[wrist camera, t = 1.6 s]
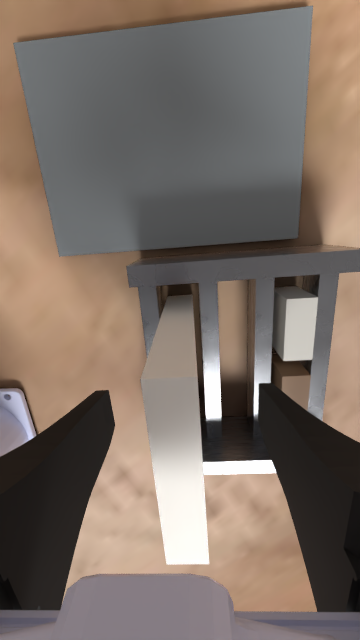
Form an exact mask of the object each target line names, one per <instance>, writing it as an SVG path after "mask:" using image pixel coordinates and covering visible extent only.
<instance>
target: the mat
mask: <svg viewBox="0 0 360 640" xmlns="http://www.w3.org/2000/svg"><path fill="white" fill-rule="evenodd" d="M312 12H313V6H307V7H299V8H291V9H283V10H275V11H266V12H258V13H250V14H242V15H234V16H226V17H218V18H210V19H202V20H194V21H186V22H178V23H170V24H162V25H154V26H146V27H137V28H129V29H121V30H113V31H105V32H97V33H89V34H81V35H73V36H65V37H57V38H49V39H41V40H33V41H25V42H17V43H13V44H14V49H15V54H16V58H17V63H18V67H19V72H20V77H21V81H22V86H23V91H24V95H25V100H26V104H27V109H28V114H29V118H30V123H31V127H32V132H33V137H34V141H35V146H36V151H37V155H38V160H39V164H40V169H41V174H42V178H43V183H44V187H45V192H46V197H47V201H48V206H49V211H50V215H51V220H52V224H53V229H54V234H55V238H56V243H57V247H58V252H59V257H60V256H73V255H86V254H99V253H112V252H125V251H138V250H151V249H164V248H177V247H190V246H203V245H216V244H229V243H242V242H255V241H268V240H281V239H294V238H298V230H299V215H300V199H301V184H302V168H303V152H304V137H305V121H306V105H307V90H308V74H309V59H310V43H311V27H312Z"/></svg>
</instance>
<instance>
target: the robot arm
mask: <svg viewBox="0 0 360 640" xmlns="http://www.w3.org/2000/svg"><path fill="white" fill-rule="evenodd" d="M8 395H10V396H11V397H10V396H8ZM258 422H259V426H260V429H261V433H262V437H263V440H264V443H265V445H266V448H267V450H268V453H269V455H270V458H271V460H272V463H273V465H274V468H275V470H276V473H277V475H278V478H279V480H280V483H281V485H282V488H283V491H284V493H285V496H286V499H287V502H288V506H289V509H290V512H291V516H292V519H293V522H294V526H295V529H296V533H297V537H298V540H299V544H300V547H301V551H302V554H303V558H304V562H305V565H306V569H307V573H308V577H309V580H310V584H311V588H312V592H313V596H314V600H315V604H316V608H317V612H241V611H234V607H233V601H232V599H231V597H230V595H229V593H228V591H227V589H226V588H225V587H224V586H223V585H221V584H220V583H218V582H216V581H215V580H213V579H211V578H210V577H207V576H201V575H195V574H97V575H91V576H86V577H82V578H81V579H79V580H78V581H77V582H76V583H74V584H73V585H72V586H71V587H70V588H68V589H67V592H66V595H65V597H64V600H63V596H64V592H65V587H66V583H67V579H68V575H69V571H70V567H71V563H72V559H73V554H74V551H75V547H76V543H77V539H78V536H79V532H80V528H81V525H82V521H83V518H84V514H85V511H86V508H87V504H88V501H89V498H90V495H91V492H92V490H93V487H94V485H95V482H96V480H97V477H98V475H99V472H100V469H101V467H102V464H103V462H104V459H105V457H106V454H107V452H108V449H109V446H110V443H111V440H112V436H113V432H114V427H115V422H114V416H113V411H112V406H111V400H110V395H109V390H101V391H95V392H94V393H92V394H91V395H90V396H89V397H87V398H86V399H85V400H84V401H82V402H81V403H80V404H79V405H77V406H76V407H75V408H74V409H72V410H71V411H70V412H69V413H67V414H66V415H65V416H64V417H62V418H61V419H59V420H58V421H57V422H55V423H54V424H53V425H51V426H50V427H49V428H47V429H46V430H44V431H43V432H41V433H40V434H38V435H37V436H36V432H35V429H34V426H33V423H32V419H31V416H30V413H29V410H28V407H27V403H26V400H25V397H24V394H23V392H22V391H21V390H20V389H18V388H8V389H0V640H360V443H359V442H357V441H355V440H353V439H351V438H349V437H348V436H346V435H344V434H342V433H341V432H339V431H337V430H335V429H334V428H332V427H330V426H329V425H327V424H326V423H324V422H323V421H321V420H320V419H318V418H317V417H315V416H314V415H312V414H311V413H309V412H308V411H307V410H305V409H304V408H303V407H301V406H300V405H299V404H297V403H296V402H295V401H294V400H292V399H291V398H290V397H289V396H288V395H286V394H285V393H284V392H283V391H281V390H280V389H279V388H278V387H277V386H275V385H274V384H273V383H259V395H258ZM62 601H63V603H62ZM61 605H62V606H61Z"/></svg>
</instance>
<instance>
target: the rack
mask: <svg viewBox="0 0 360 640" xmlns="http://www.w3.org/2000/svg"><path fill="white" fill-rule="evenodd" d="M126 267H127V275H128V282H129V288H130V287H138V291H139V299H140V307H141V315H142V322H143V330H144V338H145V346H146V354H147V358H148V355H149V352H150V349H151V345H152V342H153V339H154V336H155V333H156V330H157V327H158V324H159V321H160V318H161V315H162V312H163V309H162V299H161V289H160V285H173V284H187V283H198V290H199V309H200V327H201V345H202V364H203V382H204V401H205V418H200V425H201V441H202V457H203V473H204V475H217V474H251V473H276V470H275V468H274V465H273V463H272V460H271V458H270V455H269V453H268V450H267V448H266V445H265V443H264V440H263V437H262V433H261V429H260V426H259V422H258V395H259V383H271V357H272V331H273V306H274V280H275V277H288V276H303V275H304V282H303V290H305V291H307V292H309V293H311V294H313V295H315V296H317V297H318V305H317V316H316V326H315V337H314V347H313V358H312V360H298V361H299V362H300V363H301V364H302V365H303V367H304V368H305V369H306V370H307V371H308V373H309V374H310V375H311V380H310V390H309V401H308V412H309V413H311V414H312V415H314V416H315V417H317V418H318V419H320V420H321V421H322V416H323V408H324V399H325V390H326V382H327V373H328V365H329V356H330V347H331V339H332V330H333V322H334V313H335V304H336V296H337V287H338V279H339V273H346V272H360V248H354V247H344V246H333V245H311V246H298V247H284V248H271V249H258V250H245V251H231V252H218V253H205V254H191V255H178V256H165V257H152V258H141V259H139V260H137V261H135V262H134V263H132V264H130V265H128V266H126ZM245 279H248V359H247V416H238V417H221V389H220V356H219V324H218V292H217V281H231V280H245Z"/></svg>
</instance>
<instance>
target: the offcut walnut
mask: <svg viewBox="0 0 360 640" xmlns="http://www.w3.org/2000/svg"><path fill="white" fill-rule="evenodd" d="M310 380H311V375H310V374H309V373H308V371H307V370H306V369H305V368H304V367H303V365H302V364H301V363H300V362H299V361H298V360H296V361H283V360H282V359H281V357H280V356H279V354H272V357H271V383H273V384H274V385H275V386H277V387H278V388H279V389H280V390H281V391H283V392H284V393H285V394H286V395H288V396H289V397H290V398H291V399H292V400H294V401H295V402H296V403H297V404H299V405H300V406H301V407H303V408H304V409H305V410H307V411H308V401H309V390H310Z"/></svg>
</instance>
